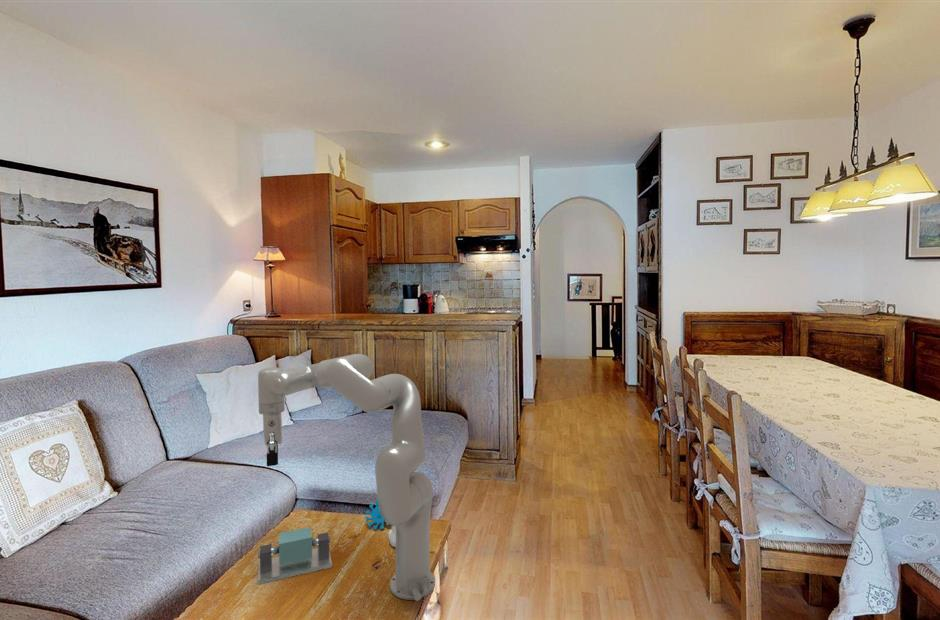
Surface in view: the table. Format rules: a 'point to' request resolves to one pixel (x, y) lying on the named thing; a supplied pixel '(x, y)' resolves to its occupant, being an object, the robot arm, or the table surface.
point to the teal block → (295, 546)
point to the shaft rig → (274, 571)
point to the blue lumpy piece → (375, 517)
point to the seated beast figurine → (392, 536)
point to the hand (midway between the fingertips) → (272, 459)
